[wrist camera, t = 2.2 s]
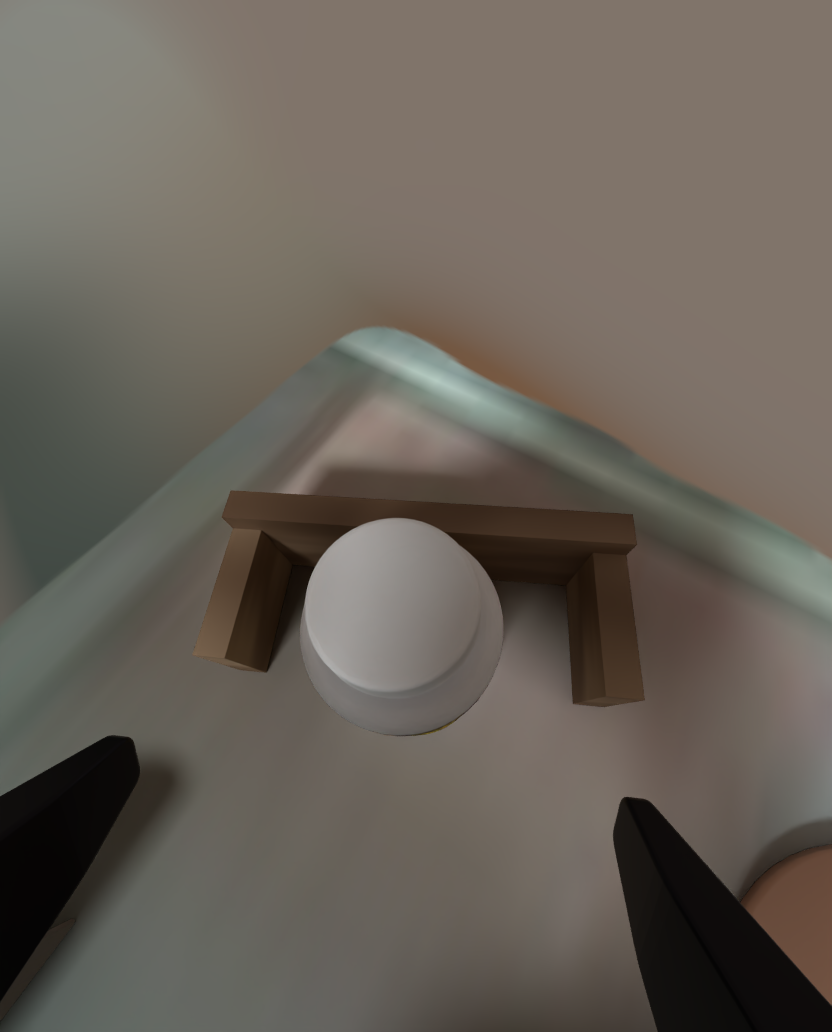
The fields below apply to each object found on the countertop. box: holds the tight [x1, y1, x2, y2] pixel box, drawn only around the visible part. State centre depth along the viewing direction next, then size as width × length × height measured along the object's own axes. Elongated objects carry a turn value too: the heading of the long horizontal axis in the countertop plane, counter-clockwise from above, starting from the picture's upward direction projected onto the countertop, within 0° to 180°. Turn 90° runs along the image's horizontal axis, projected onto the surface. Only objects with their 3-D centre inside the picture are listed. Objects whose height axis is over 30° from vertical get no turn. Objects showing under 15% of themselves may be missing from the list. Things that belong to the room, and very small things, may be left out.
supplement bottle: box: [300, 518, 504, 736], centre depth 14 cm, size 6×6×10 cm
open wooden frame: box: [193, 491, 645, 707], centre depth 17 cm, size 6×15×5 cm, turn 84°
